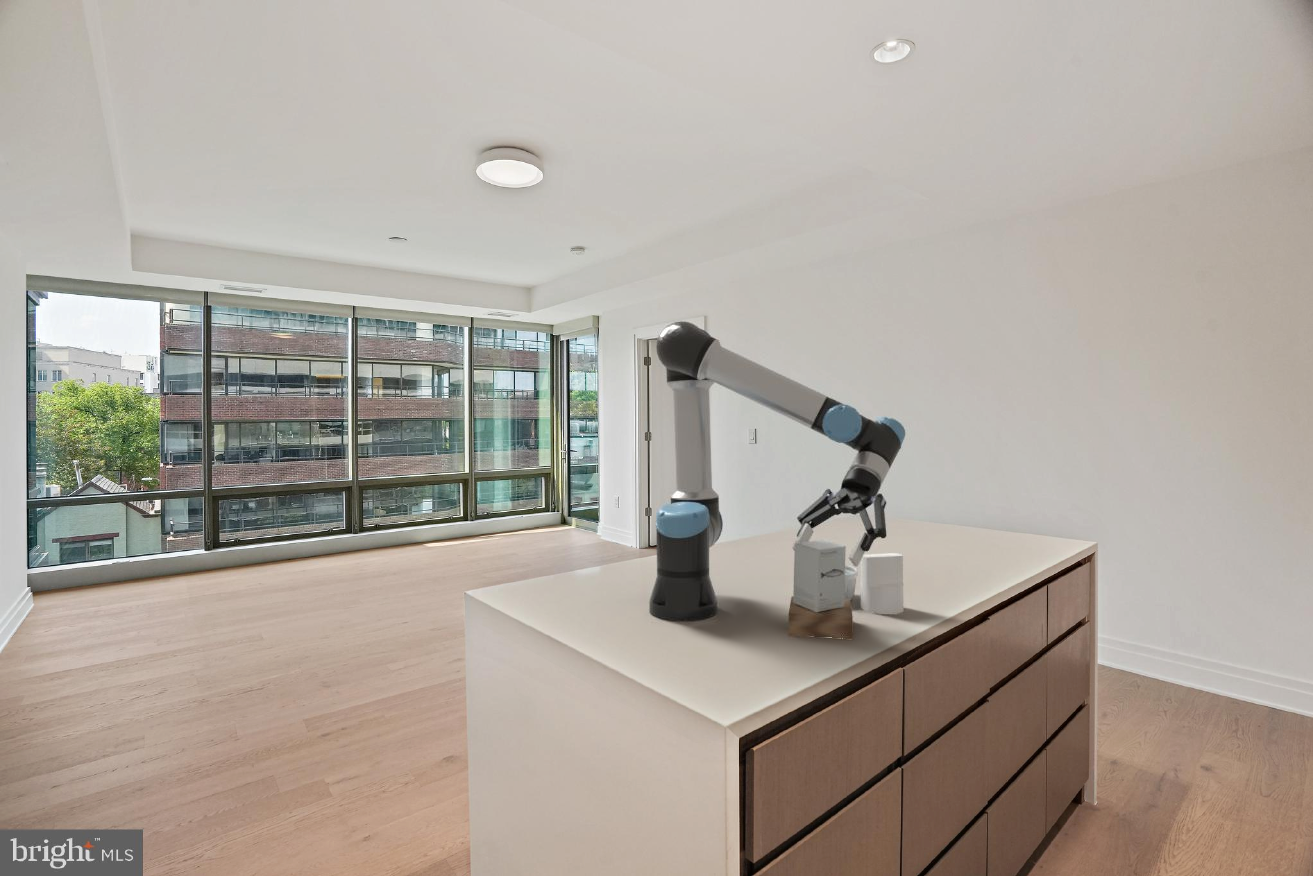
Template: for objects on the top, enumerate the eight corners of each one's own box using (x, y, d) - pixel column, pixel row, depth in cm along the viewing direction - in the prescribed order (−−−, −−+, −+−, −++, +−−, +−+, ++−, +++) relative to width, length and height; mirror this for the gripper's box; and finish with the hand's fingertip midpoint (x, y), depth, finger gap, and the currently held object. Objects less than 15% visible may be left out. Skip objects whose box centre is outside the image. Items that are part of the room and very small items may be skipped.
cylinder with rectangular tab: (872, 616, 138) (872, 560, 138) (853, 604, 147) (853, 552, 147) (911, 613, 140) (911, 558, 139) (890, 602, 149) (890, 550, 148)
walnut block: (788, 638, 126) (788, 612, 126) (791, 619, 138) (791, 596, 138) (852, 642, 123) (852, 616, 123) (850, 623, 135) (850, 599, 135)
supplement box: (817, 613, 125) (818, 549, 125) (792, 603, 132) (793, 541, 131) (845, 608, 129) (846, 545, 128) (819, 598, 135) (820, 538, 135)
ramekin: (864, 605, 146) (864, 575, 146) (806, 605, 147) (806, 575, 146) (848, 590, 160) (848, 562, 159) (795, 590, 160) (795, 562, 160)
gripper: (926, 493, 132) (887, 578, 123) (823, 484, 151) (783, 558, 142) (913, 469, 128) (871, 555, 119) (809, 463, 147) (767, 537, 138)
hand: (823, 557), depth 130 cm, fingers open, 13 cm apart
